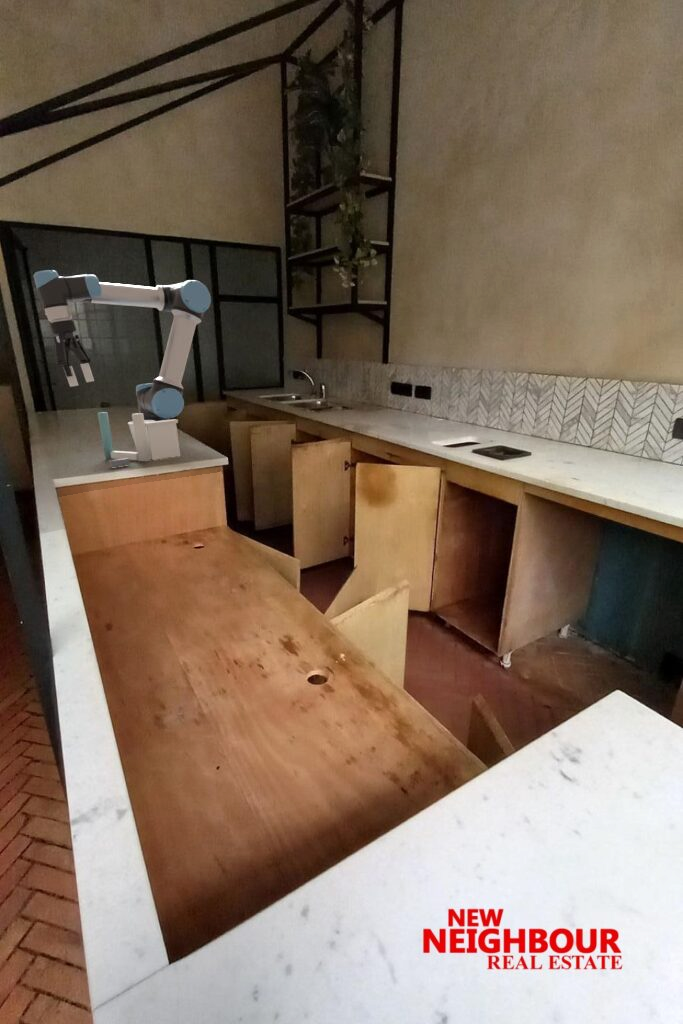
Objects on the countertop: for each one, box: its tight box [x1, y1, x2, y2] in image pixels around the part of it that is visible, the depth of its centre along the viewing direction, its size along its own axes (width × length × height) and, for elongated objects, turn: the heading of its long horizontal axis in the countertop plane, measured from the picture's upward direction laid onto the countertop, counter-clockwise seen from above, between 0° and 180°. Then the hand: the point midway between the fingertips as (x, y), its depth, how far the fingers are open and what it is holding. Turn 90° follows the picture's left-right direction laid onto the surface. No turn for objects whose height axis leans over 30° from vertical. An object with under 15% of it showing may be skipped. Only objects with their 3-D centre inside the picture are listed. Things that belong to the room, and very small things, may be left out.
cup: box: [127, 420, 154, 450], centre depth 188 cm, size 10×10×11 cm
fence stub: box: [145, 418, 181, 460], centre depth 175 cm, size 11×3×13 cm, turn 130°
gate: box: [97, 411, 151, 462], centre depth 172 cm, size 18×4×16 cm, turn 70°
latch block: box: [108, 458, 131, 469], centre depth 165 cm, size 6×2×2 cm, turn 130°
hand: (82, 383), depth 177 cm, fingers open, 13 cm apart
